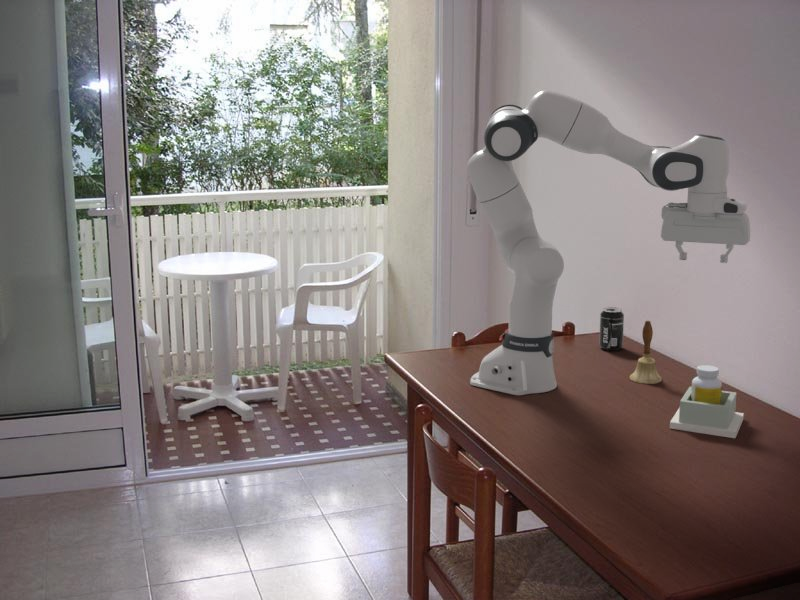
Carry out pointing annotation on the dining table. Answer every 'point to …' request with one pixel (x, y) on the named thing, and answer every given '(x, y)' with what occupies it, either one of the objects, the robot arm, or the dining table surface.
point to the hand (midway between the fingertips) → (703, 261)
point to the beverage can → (611, 328)
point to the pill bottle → (707, 385)
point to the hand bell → (646, 361)
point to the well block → (708, 416)
